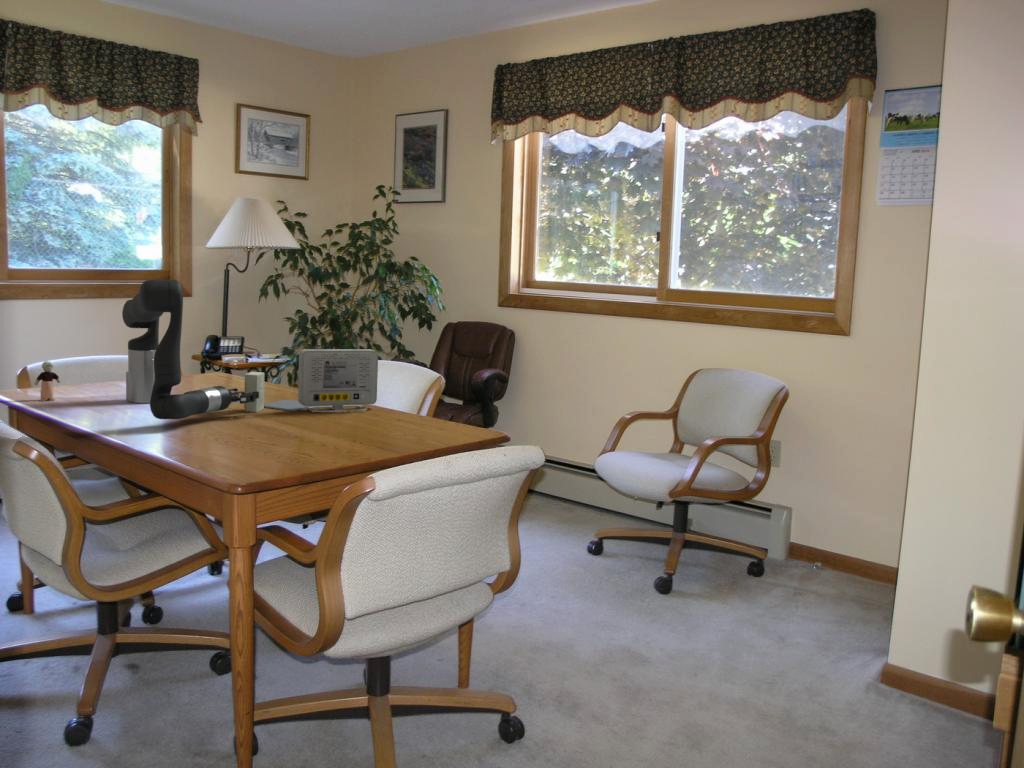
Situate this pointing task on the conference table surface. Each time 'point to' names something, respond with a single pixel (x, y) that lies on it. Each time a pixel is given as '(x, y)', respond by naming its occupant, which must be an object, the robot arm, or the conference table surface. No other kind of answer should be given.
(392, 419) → the conference table surface
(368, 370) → the network device
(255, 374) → the skincare box
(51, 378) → the grandmother figurine
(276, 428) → the conference table surface
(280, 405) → the slate pad
